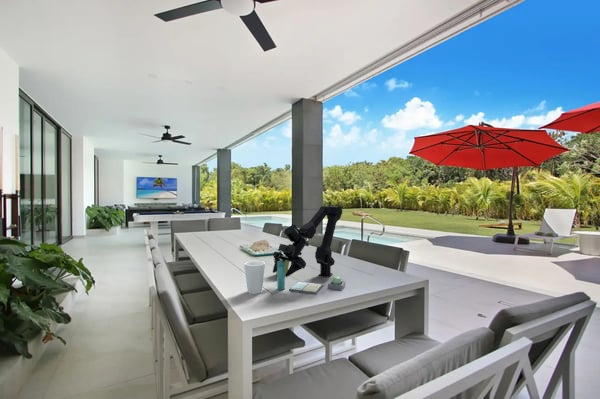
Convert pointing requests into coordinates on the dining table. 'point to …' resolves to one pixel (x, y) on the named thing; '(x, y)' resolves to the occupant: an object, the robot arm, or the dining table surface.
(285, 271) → the plant pot
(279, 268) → the cylinder
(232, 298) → the dining table surface
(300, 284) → the patchwork square coaster
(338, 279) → the button
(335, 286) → the button housing
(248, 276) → the foam cup
